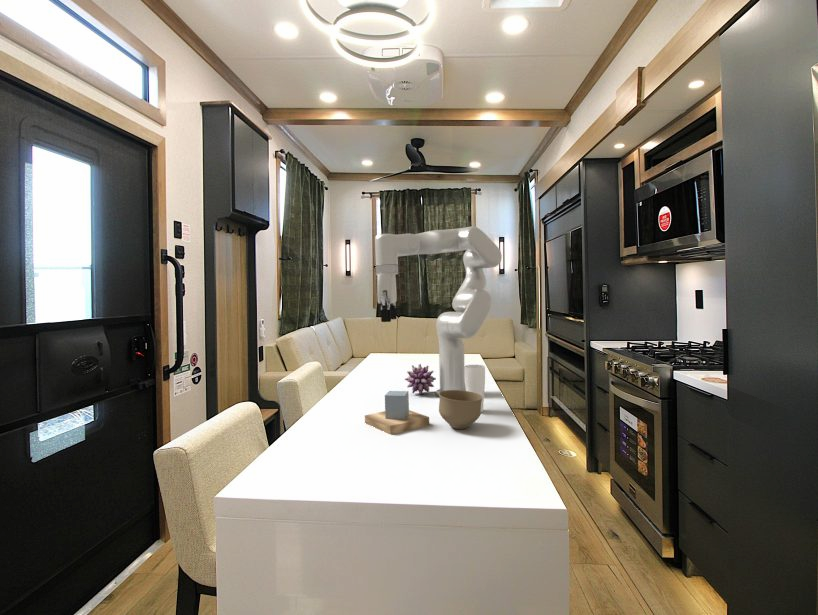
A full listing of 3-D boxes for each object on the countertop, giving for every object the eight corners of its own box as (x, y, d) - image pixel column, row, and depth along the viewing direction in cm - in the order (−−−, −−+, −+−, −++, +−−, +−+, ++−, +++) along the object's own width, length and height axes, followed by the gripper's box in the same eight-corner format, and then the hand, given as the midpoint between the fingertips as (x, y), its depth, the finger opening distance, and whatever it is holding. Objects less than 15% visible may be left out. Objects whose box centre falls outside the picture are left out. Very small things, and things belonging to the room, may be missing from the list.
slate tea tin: (390, 413, 142) (389, 390, 142) (409, 413, 141) (408, 391, 141) (385, 418, 137) (384, 395, 136) (405, 419, 135) (404, 395, 135)
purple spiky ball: (405, 391, 183) (404, 361, 182) (435, 390, 182) (434, 360, 182) (404, 398, 171) (404, 366, 170) (437, 397, 171) (436, 365, 170)
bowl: (481, 435, 127) (481, 399, 127) (436, 433, 130) (435, 398, 129) (483, 421, 140) (483, 389, 139) (442, 420, 142) (441, 388, 142)
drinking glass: (484, 408, 154) (484, 364, 154) (486, 414, 148) (485, 368, 147) (464, 408, 155) (464, 364, 154) (465, 414, 148) (464, 368, 148)
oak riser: (402, 416, 149) (402, 407, 149) (429, 426, 138) (429, 417, 137) (364, 425, 141) (364, 415, 141) (390, 436, 129) (390, 426, 129)
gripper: (382, 271, 166) (383, 318, 167) (370, 270, 149) (372, 323, 150) (402, 270, 165) (404, 318, 166) (392, 269, 148) (395, 322, 149)
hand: (389, 320), depth 158 cm, fingers open, 9 cm apart
